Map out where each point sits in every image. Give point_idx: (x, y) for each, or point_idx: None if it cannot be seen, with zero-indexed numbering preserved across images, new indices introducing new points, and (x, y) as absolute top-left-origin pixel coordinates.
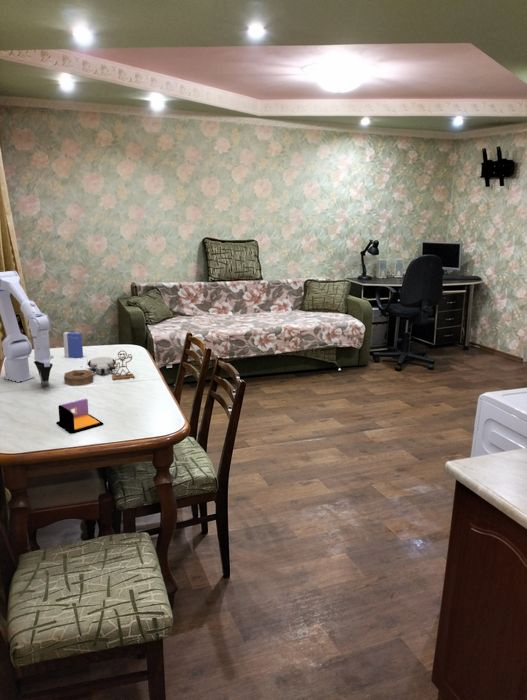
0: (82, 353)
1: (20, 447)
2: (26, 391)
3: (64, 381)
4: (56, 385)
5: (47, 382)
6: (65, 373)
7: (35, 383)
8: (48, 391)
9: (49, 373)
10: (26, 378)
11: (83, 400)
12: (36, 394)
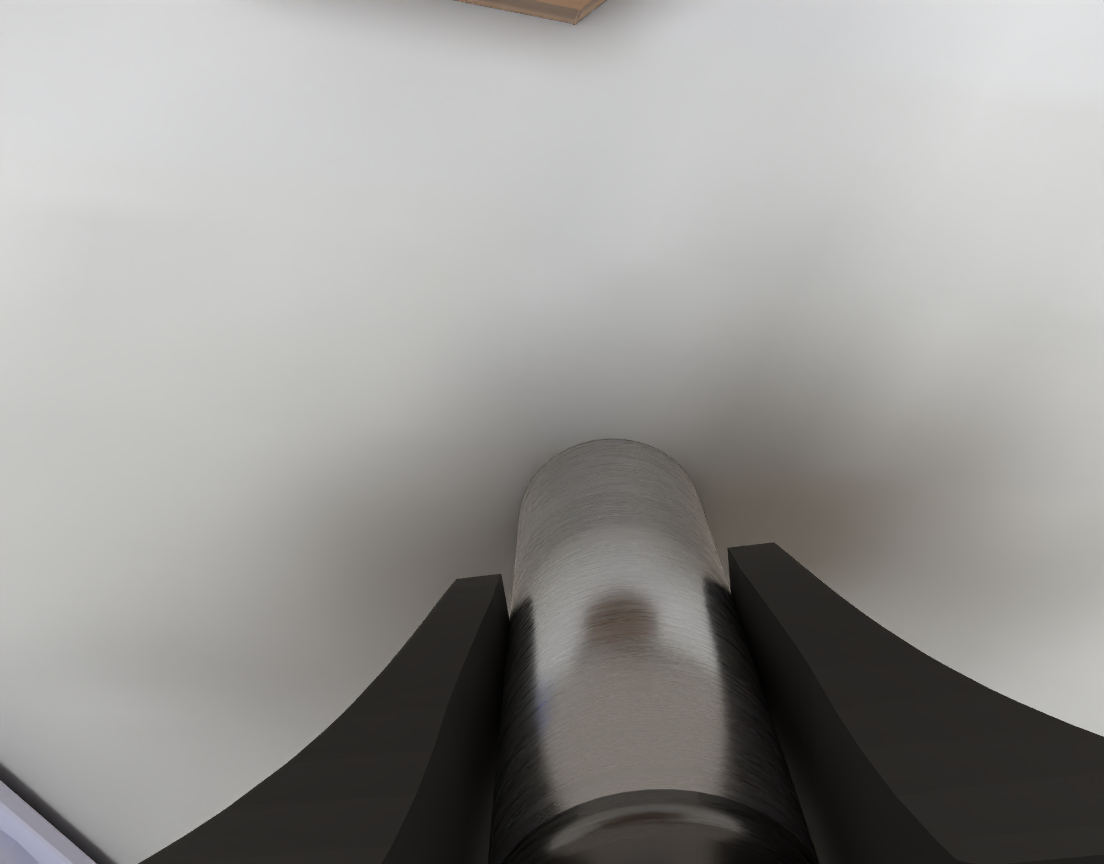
0: None
1: None
2: None
3: (578, 19)
4: (638, 264)
5: (700, 528)
6: None
7: (310, 681)
8: (1010, 488)
9: (903, 643)
10: (7, 838)
11: None
12: (1065, 715)
